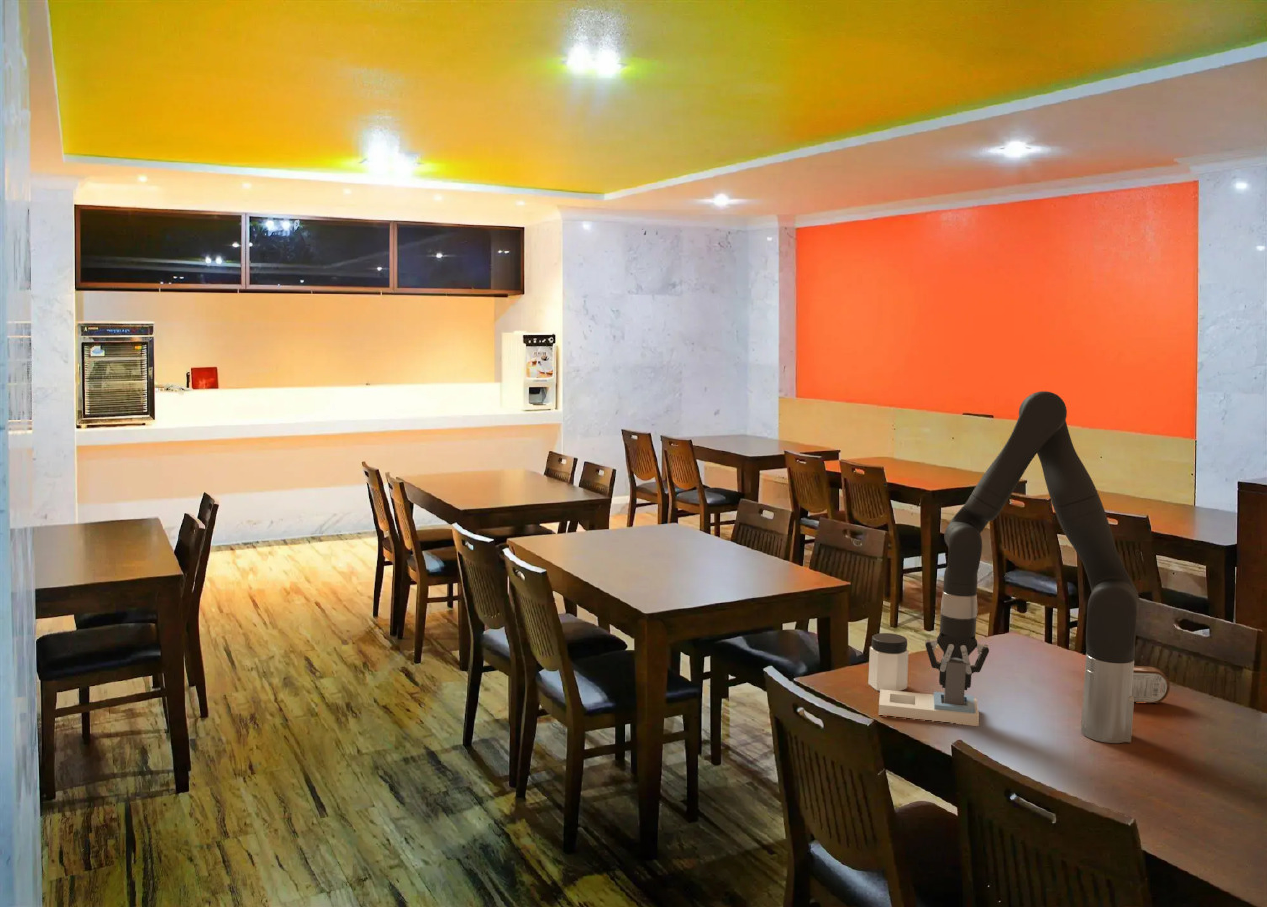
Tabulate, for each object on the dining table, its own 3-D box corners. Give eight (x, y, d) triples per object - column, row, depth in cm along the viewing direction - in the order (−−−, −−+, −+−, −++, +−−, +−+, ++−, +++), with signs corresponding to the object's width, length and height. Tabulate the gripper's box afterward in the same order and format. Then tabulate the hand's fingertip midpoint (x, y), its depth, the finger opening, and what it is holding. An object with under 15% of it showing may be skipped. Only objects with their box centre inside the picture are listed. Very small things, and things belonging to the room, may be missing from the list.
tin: (1164, 701, 237) (1167, 666, 236) (1170, 706, 234) (1173, 670, 233) (1097, 698, 238) (1099, 663, 237) (1101, 703, 235) (1104, 667, 234)
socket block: (975, 709, 230) (976, 694, 230) (978, 726, 221) (979, 710, 220) (879, 699, 236) (880, 685, 235) (878, 715, 226) (879, 700, 226)
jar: (912, 691, 241) (914, 642, 239) (880, 694, 239) (882, 644, 238) (894, 678, 250) (896, 631, 248) (863, 681, 248) (865, 633, 246)
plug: (962, 701, 228) (965, 658, 227) (963, 708, 224) (966, 664, 223) (943, 699, 229) (946, 656, 228) (944, 706, 225) (946, 662, 224)
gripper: (991, 610, 226) (987, 685, 228) (924, 605, 229) (920, 678, 231) (994, 620, 218) (989, 697, 221) (925, 614, 222) (921, 690, 224)
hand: (954, 687), depth 226 cm, fingers closed on plug, 4 cm apart
